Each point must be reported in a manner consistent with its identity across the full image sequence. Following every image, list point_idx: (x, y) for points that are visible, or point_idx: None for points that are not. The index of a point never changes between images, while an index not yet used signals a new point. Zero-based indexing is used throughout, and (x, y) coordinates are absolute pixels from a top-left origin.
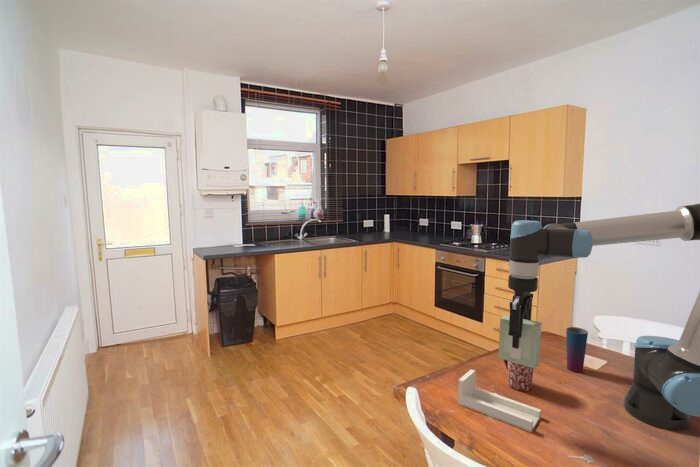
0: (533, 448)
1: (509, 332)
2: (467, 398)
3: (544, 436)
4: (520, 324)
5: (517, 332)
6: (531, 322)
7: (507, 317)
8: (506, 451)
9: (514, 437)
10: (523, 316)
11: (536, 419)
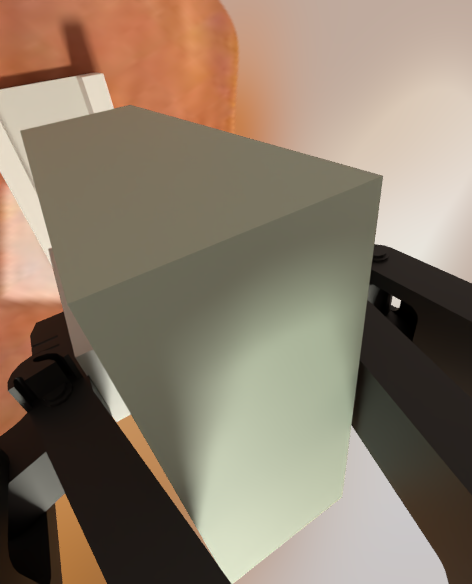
0: (161, 22)
1: (391, 314)
2: None
3: (68, 20)
4: (403, 344)
5: (422, 266)
6: (252, 370)
7: (284, 523)
8: (231, 80)
9: (163, 99)
10: (447, 451)
11: (10, 94)
